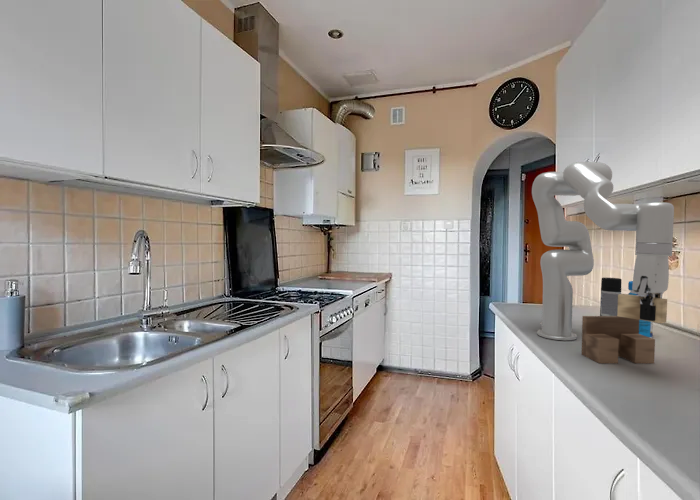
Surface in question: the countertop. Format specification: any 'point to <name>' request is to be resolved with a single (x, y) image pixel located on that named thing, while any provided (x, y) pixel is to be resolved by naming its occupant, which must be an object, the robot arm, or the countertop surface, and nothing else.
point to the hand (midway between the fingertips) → (650, 318)
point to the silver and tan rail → (631, 306)
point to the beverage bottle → (644, 326)
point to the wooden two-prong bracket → (615, 340)
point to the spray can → (609, 289)
